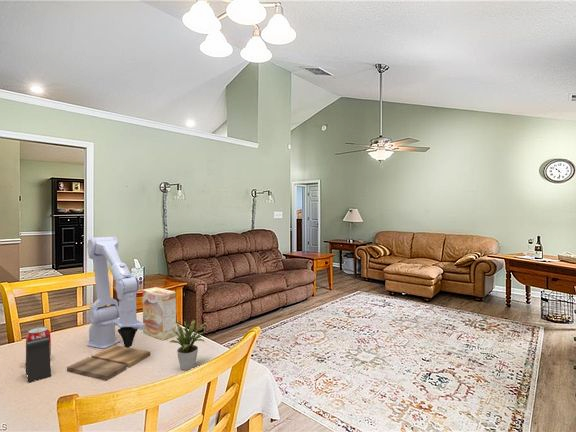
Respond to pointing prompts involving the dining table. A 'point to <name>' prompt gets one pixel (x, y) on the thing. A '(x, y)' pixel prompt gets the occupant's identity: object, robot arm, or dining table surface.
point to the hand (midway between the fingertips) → (128, 346)
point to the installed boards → (96, 368)
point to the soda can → (39, 335)
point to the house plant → (187, 345)
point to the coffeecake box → (159, 312)
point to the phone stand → (38, 359)
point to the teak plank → (122, 355)
